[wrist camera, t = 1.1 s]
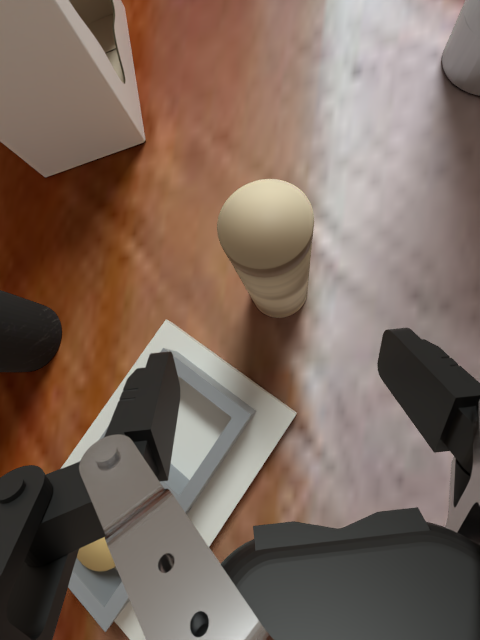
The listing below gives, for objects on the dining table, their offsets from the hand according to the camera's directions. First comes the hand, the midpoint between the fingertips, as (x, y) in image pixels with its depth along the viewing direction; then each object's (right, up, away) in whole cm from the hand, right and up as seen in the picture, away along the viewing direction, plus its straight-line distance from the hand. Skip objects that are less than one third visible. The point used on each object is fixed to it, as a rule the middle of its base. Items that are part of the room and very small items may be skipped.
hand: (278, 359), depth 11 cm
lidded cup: (+2, +4, +16) cm, 16 cm away
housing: (-8, -11, +14) cm, 20 cm away
